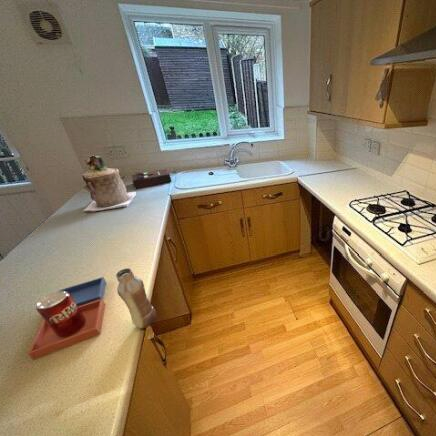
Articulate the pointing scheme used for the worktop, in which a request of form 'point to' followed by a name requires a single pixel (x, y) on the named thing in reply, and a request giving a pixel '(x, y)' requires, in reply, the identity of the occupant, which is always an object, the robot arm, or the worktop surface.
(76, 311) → the soda can
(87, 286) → the blue tray
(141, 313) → the plastic bottle
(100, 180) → the cookie jar
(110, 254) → the worktop surface
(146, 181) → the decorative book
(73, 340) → the terracotta tray
